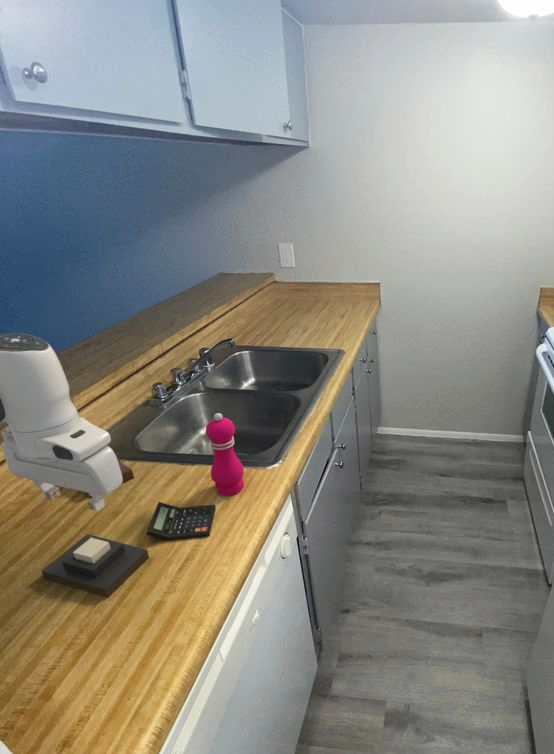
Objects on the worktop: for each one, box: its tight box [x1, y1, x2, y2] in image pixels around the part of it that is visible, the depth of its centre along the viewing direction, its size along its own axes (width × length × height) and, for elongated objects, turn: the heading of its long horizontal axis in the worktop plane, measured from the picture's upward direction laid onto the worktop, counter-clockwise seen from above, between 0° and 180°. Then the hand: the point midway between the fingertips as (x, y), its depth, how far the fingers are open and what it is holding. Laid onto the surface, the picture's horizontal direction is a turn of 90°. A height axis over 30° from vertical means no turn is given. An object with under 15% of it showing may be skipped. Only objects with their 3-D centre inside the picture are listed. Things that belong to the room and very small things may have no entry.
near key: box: [73, 538, 111, 564], centre depth 87 cm, size 4×4×2 cm
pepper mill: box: [205, 412, 245, 497], centre depth 107 cm, size 7×7×20 cm
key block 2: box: [40, 533, 150, 598], centre depth 88 cm, size 14×10×4 cm
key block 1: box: [80, 460, 135, 500], centre depth 112 cm, size 14×10×4 cm
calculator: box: [145, 501, 216, 541], centre depth 99 cm, size 9×12×3 cm
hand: (75, 502), depth 82 cm, fingers open, 8 cm apart
